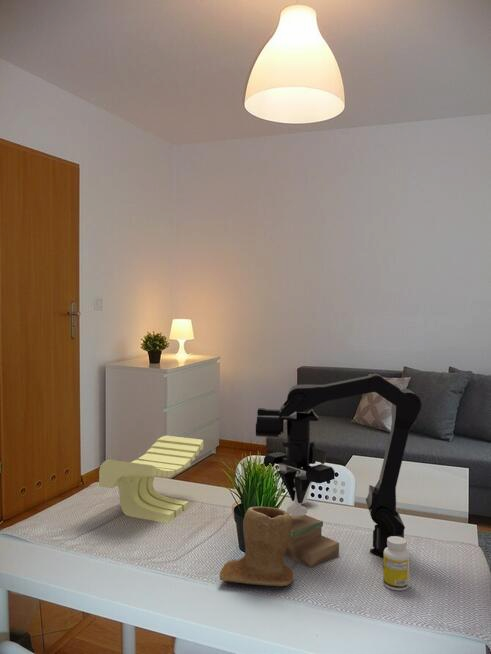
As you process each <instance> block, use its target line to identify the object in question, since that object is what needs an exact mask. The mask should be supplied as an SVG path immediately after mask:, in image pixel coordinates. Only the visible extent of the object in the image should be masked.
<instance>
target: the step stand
mask: <svg viewBox="0 0 491 654" xmlns="http://www.w3.org/2000/svg"><path fill="white" fill-rule="evenodd" d="M289 515H290V516H291V519H292V528H291V537H290V541H289V544H288V547H287V549H286V552H285V555H284V557H287V558H290V559H291V560H294V561H296V562H298V563H301V564H302V565H304V566H307V567H309V568H313V567H315V566H317V565H320V564H322V563H324V562H326V561H329V560H330V559H333V558H335V557H337V556H340V542H338V541H336V540H334V539H332V538H330V537H326V536H325V535H322V531H323V529H322V528H323V527H324V521H322V520H319V519H317V518H315V517H312V516H309V515H307V514H305V515H301V516H296V515H291V514H289Z"/></svg>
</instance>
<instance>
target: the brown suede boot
mask: <svg viewBox="0 0 491 654" xmlns="http://www.w3.org/2000/svg"><path fill="white" fill-rule="evenodd" d="M290 515H291V514H289V513H287V510H283V509H280V508H277V507H271V506H251V507H248V509H246V511H245V513H244V518H243V520H242V531H243V538H244V539H243V541H244V546H245V550H244V551H245V554H244V556H243V557H242V558H238V559H237V558H235V559H231V560H227V562H225V563H224V564H223V566H222V567H221V570H220V573H219V580H220V581H224V582H231V583H238V584H247V585H257V586H258V585H259V586H268V587H271V586H272V587H286V586H289V585H291V583H292V582H293V581H294V576H295V575H294V571H293V570H292V569H291V567H290V566H288V565H286V564H285V552H286V549H287V547H288V544H289V541H290V537H291V528H292V519H291V516H290Z"/></svg>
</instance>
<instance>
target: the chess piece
mask: <svg viewBox="0 0 491 654" xmlns="http://www.w3.org/2000/svg"><path fill="white" fill-rule="evenodd" d="M299 475H300V473H299V471H297V474H296V477H297V476H299ZM294 483H295V482H294ZM293 490H294V491H295V499H294V501H293V504H291V505H290V506H289V505H288V507H287V508H286V512H287V513H289V515H296V516H301V515H307V513H308V509H307V507H305V506H303V504H301V503H298V500H297V495H296V488H295V487H294V488H293Z"/></svg>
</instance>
